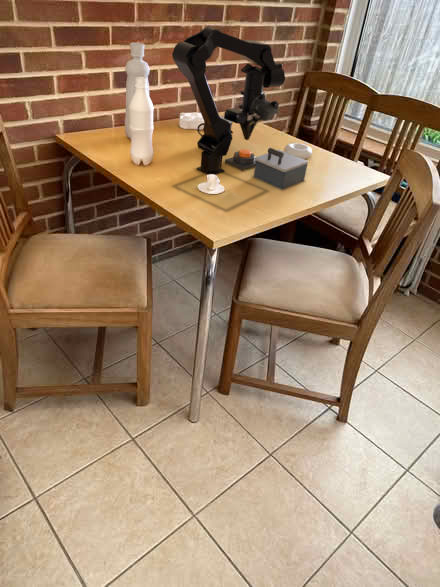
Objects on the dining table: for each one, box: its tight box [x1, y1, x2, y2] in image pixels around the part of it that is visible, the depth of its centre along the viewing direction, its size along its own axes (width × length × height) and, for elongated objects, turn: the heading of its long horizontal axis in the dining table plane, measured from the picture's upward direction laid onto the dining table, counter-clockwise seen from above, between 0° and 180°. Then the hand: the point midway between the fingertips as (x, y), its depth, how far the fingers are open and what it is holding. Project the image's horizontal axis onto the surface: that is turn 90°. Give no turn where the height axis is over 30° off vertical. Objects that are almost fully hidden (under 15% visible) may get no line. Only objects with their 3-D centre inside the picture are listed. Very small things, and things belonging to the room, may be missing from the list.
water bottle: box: [129, 77, 155, 166], centre depth 137 cm, size 7×7×25 cm
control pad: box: [224, 150, 256, 172], centre depth 152 cm, size 10×8×3 cm
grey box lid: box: [255, 147, 309, 172], centre depth 140 cm, size 12×12×4 cm
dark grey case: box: [253, 160, 309, 191], centre depth 143 cm, size 12×12×6 cm
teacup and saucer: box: [197, 174, 226, 195], centre depth 133 cm, size 9×8×4 cm
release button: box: [238, 148, 252, 158], centre depth 151 cm, size 4×4×2 cm
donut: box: [283, 142, 313, 160], centre depth 163 cm, size 10×4×10 cm
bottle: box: [124, 42, 151, 140], centre depth 153 cm, size 9×9×30 cm
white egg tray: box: [178, 111, 221, 131], centre depth 180 cm, size 3×18×15 cm
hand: (246, 139), depth 148 cm, fingers closed
